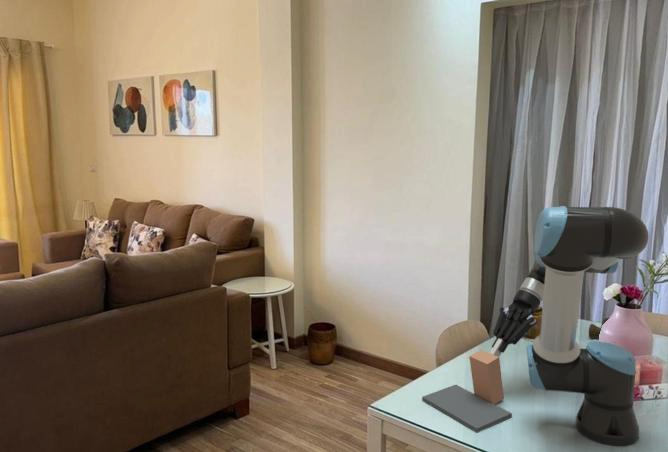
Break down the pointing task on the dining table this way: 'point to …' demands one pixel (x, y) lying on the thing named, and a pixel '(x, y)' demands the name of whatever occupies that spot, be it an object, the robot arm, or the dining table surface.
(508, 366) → the dining table surface
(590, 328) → the kendama
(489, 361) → the tall block
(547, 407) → the dining table surface
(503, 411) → the rubber mat
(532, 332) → the condiment
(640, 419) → the dining table surface
